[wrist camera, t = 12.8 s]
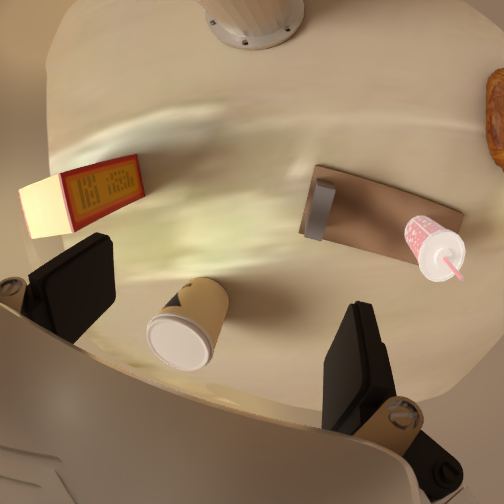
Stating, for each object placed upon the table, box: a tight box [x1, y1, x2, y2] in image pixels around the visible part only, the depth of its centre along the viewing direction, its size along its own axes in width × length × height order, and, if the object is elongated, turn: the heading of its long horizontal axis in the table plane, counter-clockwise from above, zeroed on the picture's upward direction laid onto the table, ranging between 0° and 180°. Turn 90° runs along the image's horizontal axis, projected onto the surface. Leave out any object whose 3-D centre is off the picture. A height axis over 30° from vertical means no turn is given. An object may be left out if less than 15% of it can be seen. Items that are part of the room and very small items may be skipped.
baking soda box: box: [18, 154, 145, 239], centre depth 33 cm, size 10×6×16 cm
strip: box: [299, 165, 464, 265], centre depth 33 cm, size 9×22×6 cm, turn 80°
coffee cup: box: [147, 277, 229, 371], centre depth 40 cm, size 9×9×12 cm
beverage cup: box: [405, 216, 465, 282], centre depth 29 cm, size 6×6×14 cm
